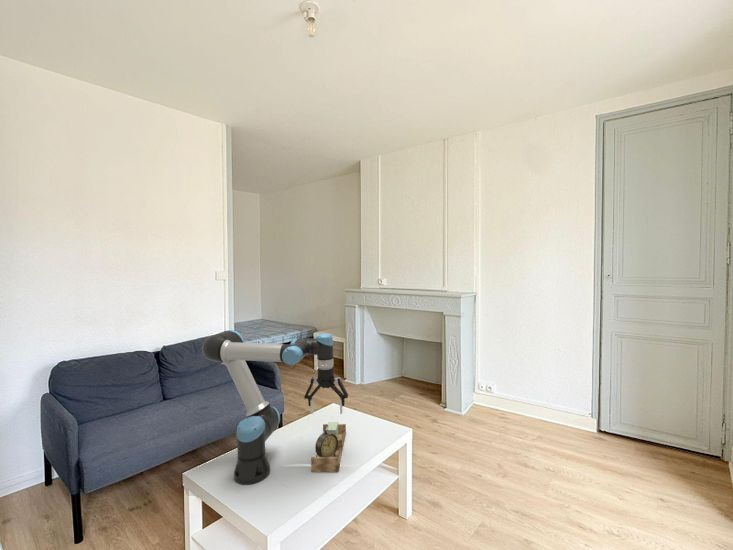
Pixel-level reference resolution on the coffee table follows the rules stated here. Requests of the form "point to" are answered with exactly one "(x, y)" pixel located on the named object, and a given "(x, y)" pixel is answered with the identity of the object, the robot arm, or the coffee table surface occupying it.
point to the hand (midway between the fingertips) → (326, 412)
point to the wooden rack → (330, 462)
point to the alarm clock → (326, 444)
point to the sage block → (333, 428)
